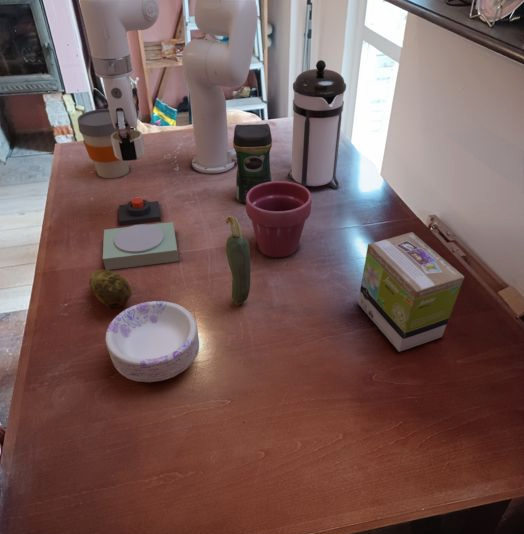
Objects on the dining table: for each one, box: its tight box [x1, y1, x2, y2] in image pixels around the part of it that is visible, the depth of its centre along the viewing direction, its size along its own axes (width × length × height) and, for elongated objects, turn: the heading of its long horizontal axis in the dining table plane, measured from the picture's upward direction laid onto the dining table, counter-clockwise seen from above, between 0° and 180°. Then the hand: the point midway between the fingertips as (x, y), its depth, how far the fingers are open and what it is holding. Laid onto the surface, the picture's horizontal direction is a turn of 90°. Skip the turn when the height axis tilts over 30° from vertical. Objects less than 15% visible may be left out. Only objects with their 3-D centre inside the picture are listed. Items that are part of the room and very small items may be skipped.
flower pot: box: [245, 180, 312, 258], centre depth 106 cm, size 14×14×13 cm
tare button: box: [130, 197, 144, 208], centre depth 118 cm, size 3×3×2 cm
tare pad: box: [118, 199, 162, 227], centre depth 120 cm, size 10×8×3 cm
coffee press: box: [287, 59, 347, 190], centre depth 123 cm, size 17×16×30 cm
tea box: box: [357, 231, 465, 353], centre depth 87 cm, size 15×10×15 cm, turn 23°
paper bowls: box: [104, 300, 200, 383], centre depth 83 cm, size 15×15×8 cm
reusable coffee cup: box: [77, 108, 130, 179], centre depth 133 cm, size 13×13×15 cm
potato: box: [88, 268, 132, 310], centre depth 95 cm, size 8×13×8 cm, turn 12°
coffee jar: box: [232, 123, 273, 204], centre depth 120 cm, size 10×8×19 cm
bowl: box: [111, 128, 146, 162], centre depth 108 cm, size 7×7×5 cm
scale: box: [102, 221, 180, 271], centre depth 109 cm, size 16×12×4 cm
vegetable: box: [225, 215, 252, 306], centre depth 89 cm, size 4×4×20 cm
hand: (129, 152), depth 109 cm, fingers closed on bowl, 7 cm apart
